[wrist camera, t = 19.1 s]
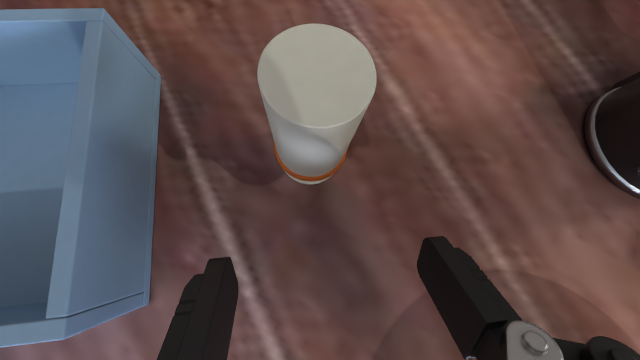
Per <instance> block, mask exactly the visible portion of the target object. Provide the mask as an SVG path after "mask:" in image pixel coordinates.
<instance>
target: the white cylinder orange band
mask: <svg viewBox="0 0 640 360" xmlns="http://www.w3.org/2000/svg"><path fill="white" fill-rule="evenodd" d="M257 78H258V84H259V88H260V92H261V95H262V99H263V103H264V106H265V110H266V114H267V117H268V121H269V124H270V128H271V132H272V135H273V139H274V152H275V155H276V158H277V161H278V163H279V164H280V166H281V167H282V168H283V170H284V171H285V173H286V174H287V175H288V176H289V177H290V178H292V179H293V180H295V181H297V182H300V183H303V184H317V183H321V182H323V181H325V180H327V179H329V178H330V177H331V176H332V175H333V174H334V173H335V172H336V171H337V170H338V169H339V168H340V167H341V165H342V163H343V162H344V159H345V157H346V154H347V149H348V146H349V144H350V142H351V140H352V138H353V136H354V134H355V132H356V130H357V128H358V126H359V124H360V122H361V120H362V118H363V116H364V114H365V112H366V110H367V108H368V106H369V104H370V102H371V100H372V97H373V95H374V92H375V89H376V69H375V65H374V62H373V60H372V57H371V55H370V54H369V52H368V50H367V49H366V48H365V47H364V45H363V44H362V43H361V42H360V41H359V40H358V39H356V38H355V37H354V36H353V35H351V34H349V33H348V32H346V31H344V30H342V29H340V28H337V27H334V26H330V25H325V24H303V25H298V26H295V27H292V28H289V29H287V30H285V31H283V32H281V33H280V34H278V35H277V36H276V37H275V38H273V39H272V40H271V41H270V42H269V44H268V45H267V46H266V48H265V49H264V51H263V53H262V55H261V57H260V60H259V63H258V70H257Z"/></svg>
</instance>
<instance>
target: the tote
mask: <svg viewBox="0 0 640 360" xmlns="http://www.w3.org/2000/svg"><path fill="white" fill-rule="evenodd" d="M160 88H161V75H160V74H159V73H158V71H156V69H155V68H154V67H153V66H152V64H151V63H150V62H149V61H148V60H147V59H146V57H145V56H144V55H143V54H142V53H141V51H140V50H139V49H138V48H137V47H136V46H135V44H134V43H133V42H132V41H131V40H130V39H129V37H128V36H127V35H126V34H125V33H124V31H123V30H122V29H121V28H120V27H119V26H118V24H117V23H116V22H115V21H114V20H113V19H112V17H111V16H110V15H109V14H108V13H107V11H106V10H105V9H104V8H71V9H2V10H0V348H1V347H8V346H16V345H24V344H32V343H40V342H48V341H56V340H63V339H66V338H68V337H71V336H73V335H76V334H78V333H80V332H83V331H85V330H88V329H90V328H92V327H95V326H97V325H100V324H102V323H104V322H107V321H109V320H112V319H114V318H117V317H119V316H121V315H124V314H126V313H129V312H131V311H133V310H136V309H138V308H141V307H143V306H146V305H148V304H149V295H150V276H151V257H152V239H153V220H154V201H155V182H156V163H157V144H158V125H159V106H160Z"/></svg>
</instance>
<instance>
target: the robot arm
mask: <svg viewBox="0 0 640 360" xmlns="http://www.w3.org/2000/svg"><path fill="white" fill-rule="evenodd" d="M584 131H585V138H586V142H587V146H588V148H589V151H590V153H591V155H592V157H593V159H594V161H595V162H596V164H597V165H598V167H599V168H600V169H601V171H602V172H603V173H604V174H605V175H606V176H607V177H608V178H609V179H610V180H611V181H612V182H613V183H614V184H615V185H617V186H618V187H619V188H621V189H622V190H624V191H625V192H627V193H629V194H631V195H633V196H635V197H637V198H640V72H638V73H636V74H634V75H632V76H630V77H628V78H626V79H624V80H622V81H620V82H618V83H616V84H615V87H614V90H611V91H609V92H607V93H605V94H603V95H601V96H600V97H598V98H597V99H596V100H595V101H594V102H593V103H592V104H591V106H590V107H589V109H588V111H587V114H586V117H585V123H584ZM417 269H418V273H419V276H420V278H421V280H422V282H423V283H424V285H425V287H426V289H427V291H428V293H429V295H430V296H431V298H432V300H433V302H434V304H435V306H436V307H437V309H438V311H439V313H440V315H441V317H442V319H443V320H444V322H445V324H446V326H447V328H448V330H449V332H450V333H451V335H452V337H453V339H454V341H455V343H456V345H457V346H458V348H459V350H460V352H461V354H462V356H463V358H464V359H472V358H477V360H640V355H639V354H638V353H636V352H635V351H634V350H632V349H631V348H629V347H628V346H626V345H624V344H622V343H620V342H618V341H616V340H614V339H611V338H608V337H603V336H596V337H593V338H591V339H590V340H589V341H588V342H587V343H586V344H581V343H576V342H571V341H566V340H561V339H556V338H552V337H551V336H550V335H549V334H547V333H546V332H545V331H544V330H542V329H541V328H539V327H537V326H536V325H534V324H531V323H529V322H525V321H523V320H522V319H521V318H520V317H519V316H518V315H517V313H516V312H515V311H514V310H513V308H512V307H511V306H510V305H509V303H508V302H507V301H506V300H505V299H504V297H503V296H502V295H501V294H500V292H499V291H498V290H497V289H496V287H495V286H494V285H493V284H492V282H491V281H490V280H488V279H487V276H486V275H485V274H484V273H483V271H482V270H480V268H479V266H478V265H477V264H476V263H475V261H474V260H473V259H472V258H471V257H470V256H469V255H468V254H466V253H465V252H464V251H462V250H461V249H460V248H454V247H453V246H452V245H451V243H450V242H449V241H448V240H447V238H445V237H444V236H439V237H429V238H424V240H423V243H422V246H421V250H420V254H419V257H418V261H417ZM237 299H238V281H237V277H236V274H235V271H234V267H233V264H232V260H231V258H230V257H224V258H214V259H209V260H208V262H207V265H206V268H205V271H204V274H197V275H194V276H193V278H192V279H191V280H190V281H189V283H188V284H187V285H186V286H185V288H184V290H183V293H182V295H181V298H180V301H179V304H178V306H177V308H176V311H175V316H173V319H172V321H171V324H170V327H169V329H168V332H167V334H166V337H165V340H164V342H163V345H162V347H161V350H160V353H159V355H158V358H157V360H227V356H228V350H229V344H230V339H231V333H232V327H233V322H234V316H235V310H236V304H237Z"/></svg>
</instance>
